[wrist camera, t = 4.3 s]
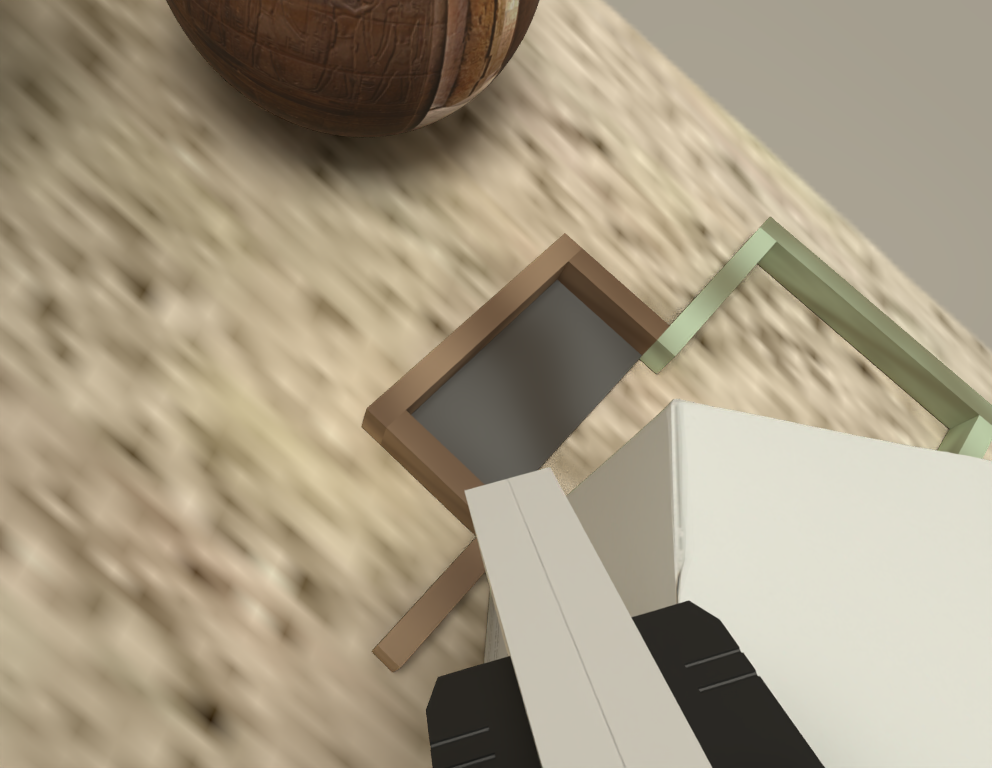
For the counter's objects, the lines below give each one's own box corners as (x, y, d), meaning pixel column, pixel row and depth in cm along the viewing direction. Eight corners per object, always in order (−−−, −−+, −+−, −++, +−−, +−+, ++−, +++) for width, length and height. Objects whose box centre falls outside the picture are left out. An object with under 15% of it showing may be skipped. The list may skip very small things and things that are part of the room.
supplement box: (720, 848, 27) (1154, 947, 14) (466, 829, 25) (680, 921, 12) (710, 582, 31) (1038, 459, 18) (490, 549, 29) (671, 386, 16)
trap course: (829, 1106, 24) (867, 1131, 23) (247, 528, 27) (246, 514, 26) (1074, 516, 37) (1110, 506, 35) (659, 159, 39) (675, 135, 38)
